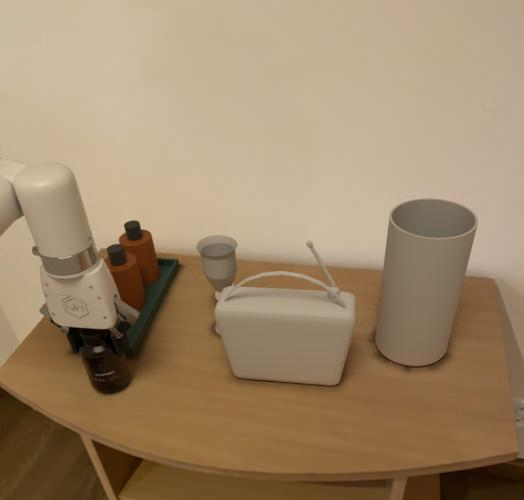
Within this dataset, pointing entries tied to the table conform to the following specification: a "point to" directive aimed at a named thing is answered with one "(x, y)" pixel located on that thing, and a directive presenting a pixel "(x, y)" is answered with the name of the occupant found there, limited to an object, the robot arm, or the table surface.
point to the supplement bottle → (102, 360)
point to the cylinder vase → (423, 278)
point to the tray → (151, 303)
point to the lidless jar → (218, 294)
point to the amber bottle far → (141, 251)
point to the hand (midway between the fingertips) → (101, 348)
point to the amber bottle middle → (126, 276)
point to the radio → (287, 330)
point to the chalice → (218, 261)
